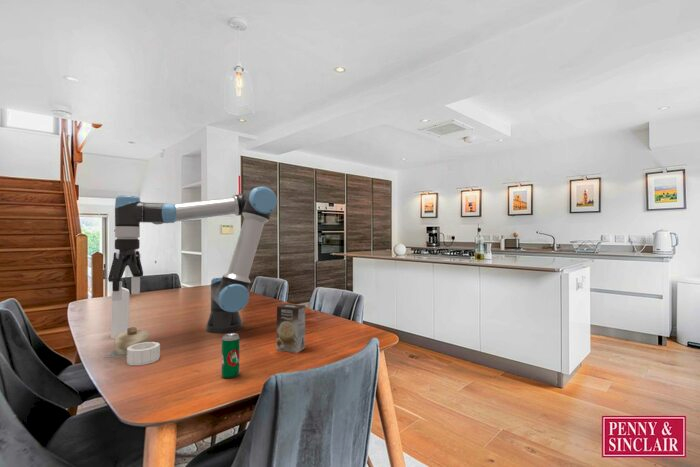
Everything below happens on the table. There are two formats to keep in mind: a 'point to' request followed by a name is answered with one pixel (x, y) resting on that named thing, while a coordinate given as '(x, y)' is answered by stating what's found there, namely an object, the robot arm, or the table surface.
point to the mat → (113, 355)
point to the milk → (120, 314)
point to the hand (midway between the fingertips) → (126, 297)
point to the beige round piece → (129, 340)
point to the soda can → (230, 355)
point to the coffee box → (290, 327)
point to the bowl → (143, 353)
